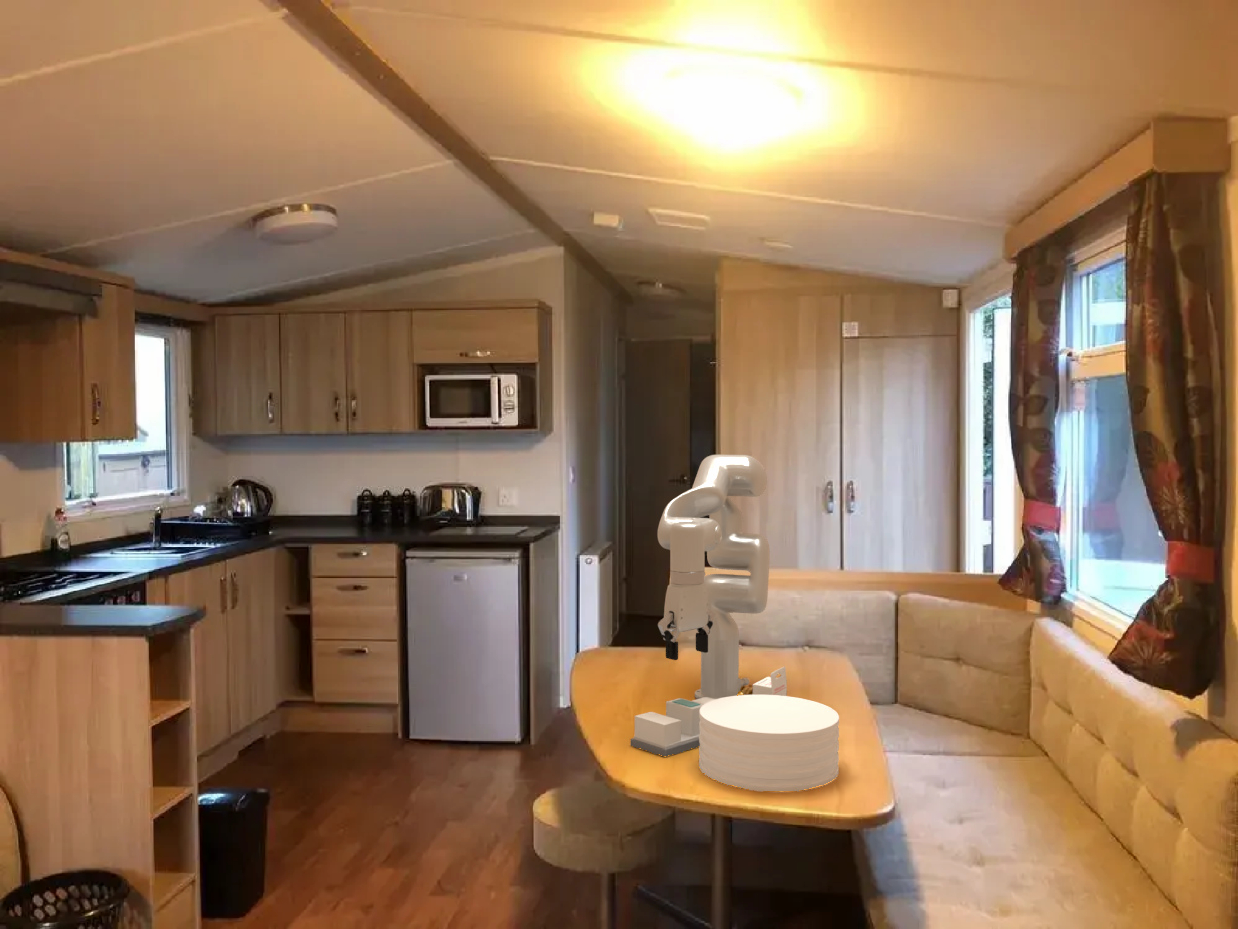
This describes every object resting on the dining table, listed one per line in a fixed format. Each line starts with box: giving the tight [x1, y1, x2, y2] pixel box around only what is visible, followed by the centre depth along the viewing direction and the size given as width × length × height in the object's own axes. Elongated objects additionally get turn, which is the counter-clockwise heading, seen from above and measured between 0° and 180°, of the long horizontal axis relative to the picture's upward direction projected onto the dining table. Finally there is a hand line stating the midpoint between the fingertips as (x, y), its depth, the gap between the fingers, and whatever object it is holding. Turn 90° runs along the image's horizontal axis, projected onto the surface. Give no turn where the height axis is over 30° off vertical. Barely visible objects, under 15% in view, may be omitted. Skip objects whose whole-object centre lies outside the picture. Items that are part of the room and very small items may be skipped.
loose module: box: [665, 697, 703, 737], centre depth 225 cm, size 4×8×6 cm, turn 42°
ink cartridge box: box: [752, 665, 788, 696], centre depth 231 cm, size 9×5×15 cm, turn 148°
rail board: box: [629, 697, 715, 757], centre depth 225 cm, size 24×10×7 cm, turn 133°
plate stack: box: [698, 694, 840, 792], centre depth 207 cm, size 28×28×12 cm
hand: (687, 655), depth 225 cm, fingers open, 9 cm apart
